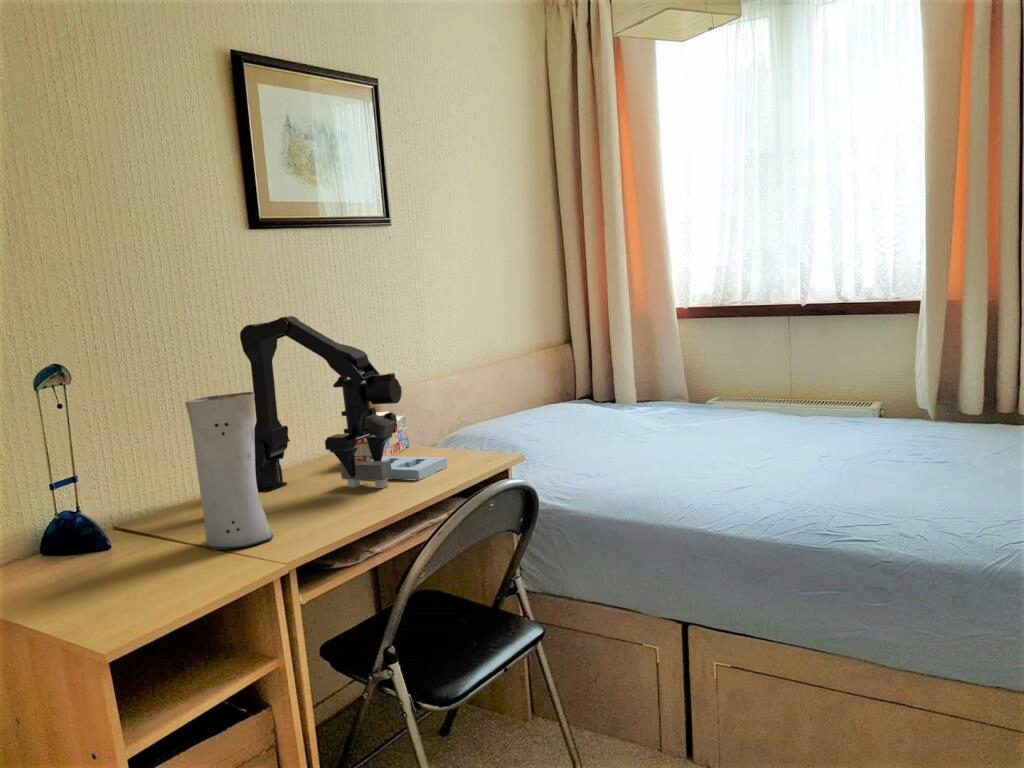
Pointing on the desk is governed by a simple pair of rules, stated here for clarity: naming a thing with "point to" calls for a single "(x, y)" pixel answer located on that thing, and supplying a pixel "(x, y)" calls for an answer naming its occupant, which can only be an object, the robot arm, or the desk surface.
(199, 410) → the vase
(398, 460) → the keyhole board
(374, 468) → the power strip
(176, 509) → the desk surface
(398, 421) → the stack of blocks
